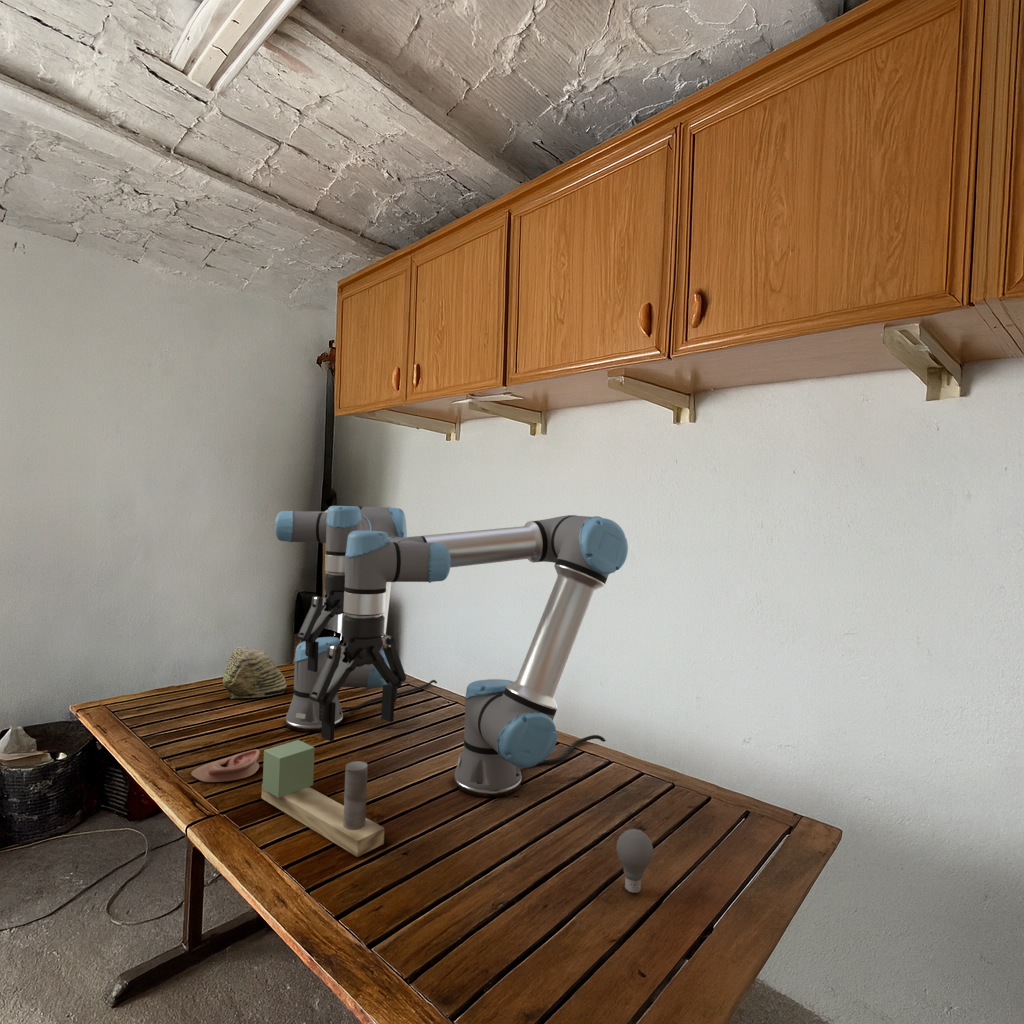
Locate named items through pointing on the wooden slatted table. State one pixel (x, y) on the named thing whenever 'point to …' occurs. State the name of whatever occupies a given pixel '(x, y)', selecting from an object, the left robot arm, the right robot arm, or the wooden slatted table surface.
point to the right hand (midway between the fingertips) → (358, 729)
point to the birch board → (336, 812)
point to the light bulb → (634, 857)
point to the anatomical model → (229, 768)
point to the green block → (288, 768)
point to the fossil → (252, 674)
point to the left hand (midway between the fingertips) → (338, 665)
